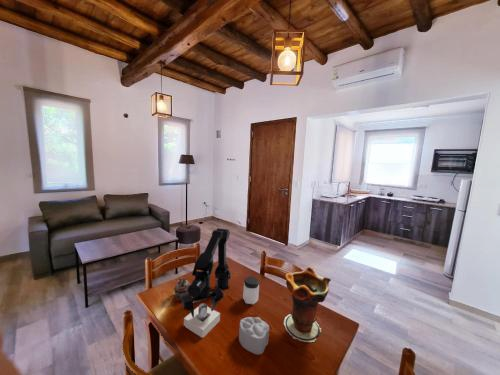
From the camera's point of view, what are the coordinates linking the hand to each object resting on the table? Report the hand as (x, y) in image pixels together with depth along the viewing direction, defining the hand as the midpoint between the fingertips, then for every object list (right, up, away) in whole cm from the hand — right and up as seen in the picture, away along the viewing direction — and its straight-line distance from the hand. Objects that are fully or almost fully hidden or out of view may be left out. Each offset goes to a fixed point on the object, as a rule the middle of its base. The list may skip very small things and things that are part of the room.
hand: (202, 313), depth 97 cm
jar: (+23, -4, +20) cm, 31 cm away
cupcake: (-16, -2, +19) cm, 25 cm away
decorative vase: (+48, -8, +3) cm, 49 cm away
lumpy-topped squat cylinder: (+24, -8, -7) cm, 26 cm away
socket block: (0, -5, +1) cm, 5 cm away
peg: (0, -5, +1) cm, 5 cm away
